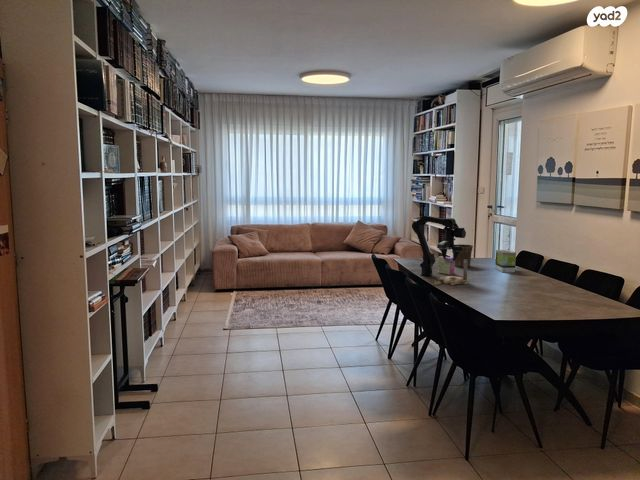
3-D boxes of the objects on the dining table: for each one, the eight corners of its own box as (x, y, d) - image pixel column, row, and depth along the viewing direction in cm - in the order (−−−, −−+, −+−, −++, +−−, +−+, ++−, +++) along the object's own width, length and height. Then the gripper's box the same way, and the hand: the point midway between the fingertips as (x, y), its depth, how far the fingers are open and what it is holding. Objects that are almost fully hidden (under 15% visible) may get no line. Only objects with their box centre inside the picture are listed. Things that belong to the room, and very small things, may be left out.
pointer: (435, 284, 316) (435, 281, 316) (433, 284, 318) (433, 280, 318) (441, 284, 318) (441, 280, 318) (438, 283, 320) (438, 280, 320)
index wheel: (437, 284, 316) (437, 261, 314) (437, 277, 336) (438, 256, 335) (468, 285, 312) (469, 262, 310) (466, 279, 332) (467, 257, 330)
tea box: (515, 272, 356) (516, 252, 354) (501, 272, 356) (502, 252, 354) (508, 268, 371) (508, 249, 369) (494, 268, 371) (495, 249, 369)
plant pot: (446, 265, 387) (447, 244, 385) (462, 263, 394) (463, 243, 392) (460, 268, 373) (461, 247, 371) (477, 266, 379) (477, 246, 377)
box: (454, 273, 352) (454, 257, 351) (449, 274, 349) (450, 258, 347) (442, 271, 360) (442, 255, 359) (437, 272, 357) (437, 256, 355)
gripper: (431, 236, 336) (430, 259, 338) (450, 239, 319) (449, 262, 321) (443, 235, 341) (443, 257, 343) (463, 238, 325) (462, 261, 327)
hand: (449, 259), depth 333 cm, fingers open, 9 cm apart
